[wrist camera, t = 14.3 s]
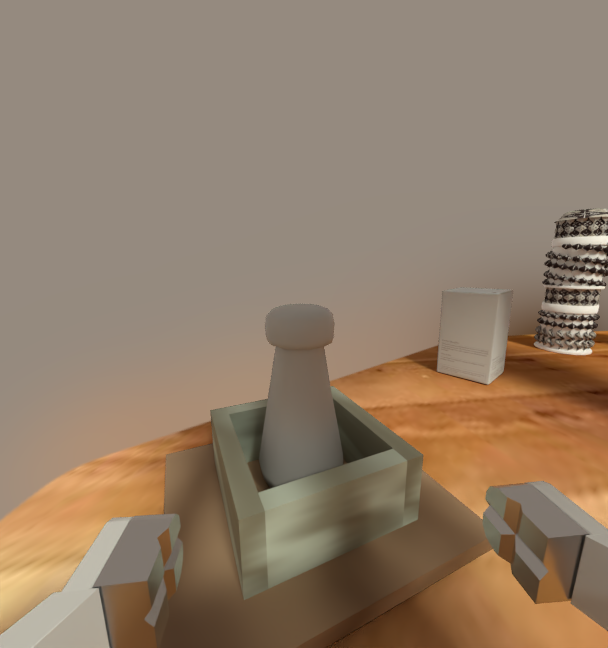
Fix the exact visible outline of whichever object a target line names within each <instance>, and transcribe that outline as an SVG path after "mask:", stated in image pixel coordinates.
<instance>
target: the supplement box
mask: <svg viewBox="0 0 608 648" xmlns="http://www.w3.org/2000/svg"><path fill="white" fill-rule="evenodd" d="M512 298H513V290H503V289H483V288H456V289H451V290H446V291H442V307H441V320H440V334H439V345H438V360H437V372H440V373H445V374H449V375H452V376H456V377H460V378H464V379H468V380H472V381H476V382H479V383H483V384H490V383H491V382H492V381H493V380H495V379H496V378H497V377H498V376H499V375H500V374H502V373H503V371H504V362H505V354H506V346H507V338H508V330H509V322H510V314H511V306H512Z"/></svg>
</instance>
